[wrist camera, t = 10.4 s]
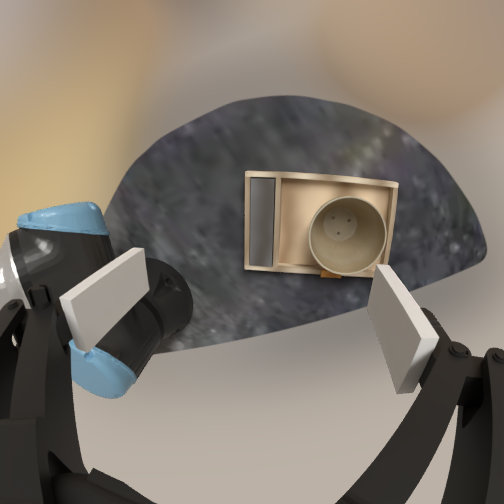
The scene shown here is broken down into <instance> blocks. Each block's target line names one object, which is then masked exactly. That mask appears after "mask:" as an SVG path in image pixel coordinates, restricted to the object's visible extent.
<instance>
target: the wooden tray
mask: <svg viewBox="0 0 504 504" xmlns="http://www.w3.org/2000/svg"><path fill="white" fill-rule="evenodd" d="M397 194H398V183H396V182H392V181H385V180H376V179H368V178H359V177H349V176H338V175H326V174H312V173H296V172H274V171H245V269H248V270H261V271H276V272H290V273H306V274H321V277H329V278H341V276H356V277H374V273H375V267H376V264H381V265H387V264H388V259H389V253H390V247H391V241H392V235H393V228H394V220H395V212H396V203H397ZM341 196H354V197H359V198H362V199H365V200H367V201H369V202H370V203H372V204H373V205H374V206H375V207H376V208H377V209H378V210H379V212H380V213H381V215H382V216H383V218H384V221H385V224H386V230H387V238H386V244H385V247H384V250H383V252H382V254H381V256H380V257H379V258H378V260H377V261H376V262H375V263H374V264H373V265H372V266H371V267H369V268H368V269H366V270H364V271H362V272H360V273H357V274H352V275H339V274H335V273H332V272H330V271H328V270H326V269H325V268H323V267H322V266H321V265H320V264H319V263H318V262H317V261H316V260H315V258H314V257H313V255H312V253H311V250H310V247H309V241H308V234H309V227H310V224H311V221H312V219H313V217H314V215H315V213H316V212H317V211H318V209H319V208H320V207H321V206H322V205H324V204H325V203H326V202H328V201H330V200H332V199H334V198H337V197H341ZM332 219H333V218H332ZM348 220H349V219H348ZM339 234H340V232H339Z"/></svg>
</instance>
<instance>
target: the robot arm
mask: <svg viewBox="0 0 504 504" xmlns="http://www.w3.org/2000/svg"><path fill="white" fill-rule="evenodd" d="M17 227H19V229H17V230H15V231H13V232H10V233H8V234H7V236H6V238H5V240H4V243H3V245H2V248H1V249H0V504H156V503H154V502H152V501H150V500H149V499H147V498H146V497H144V496H143V495H141V494H140V493H138V492H137V491H135V490H134V489H132V488H131V487H129V486H128V485H127V484H125V483H124V482H122V481H120V480H117V479H115V478H113V477H111V476H109V475H107V474H104V473H103V472H101V471H98V470H96V469H95V468H93V469H92V470H91V472H90V474H88V472H87V470H86V469H85V467H84V464H83V461H82V457H81V452H80V447H79V441H78V435H77V428H76V421H75V413H74V403H73V392H72V380H73V381H74V382H76V383H77V384H78V385H79V386H81V387H82V388H84V389H85V390H87V391H89V392H91V393H93V394H95V395H98V396H100V397H104V398H109V399H114V398H119V397H121V396H123V395H124V394H125V393H126V392H127V390H128V389H129V388H130V387H131V385H132V384H134V383H135V382H136V380H137V378H138V377H139V375H140V374H141V372H142V370H143V369H144V367H145V366H146V364H147V363H148V361H149V360H150V358H151V356H152V355H153V354H154V352H155V350H156V349H157V347H158V346H159V345H160V343H161V342H162V341H163V340H165V339H167V338H168V337H169V336H170V335H173V334H175V333H177V332H179V331H180V330H181V329H182V328H183V327H184V326H185V324H186V323H187V321H188V320H189V318H190V316H191V313H192V309H193V301H192V295H191V292H190V289H189V287H188V285H187V283H186V282H185V280H184V279H183V277H182V276H181V275H180V274H179V273H178V272H177V271H176V270H175V269H174V268H172V267H171V266H170V265H168V264H166V263H164V262H162V261H160V260H157V259H153V258H145V254H144V248H132V249H130V250H129V251H127V252H126V253H124V254H122V255H121V256H119V257H118V258H116V259H115V256H114V252H113V249H112V246H111V242H110V239H109V235H110V233H109V231H107V228H106V225H105V222H104V219H103V215H102V212H101V210H100V208H99V207H98V206H97V205H96V204H95V203H93V202H78V203H71V204H65V205H59V206H54V207H50V208H46V209H41V210H37V211H35V212H31V213H26V214H23V215H21V216H19V217H18V222H17ZM367 311H368V313H369V316H370V318H371V321H372V323H373V326H374V329H375V331H376V334H377V337H378V339H379V342H380V345H381V348H382V350H383V354H384V356H385V359H386V362H387V365H388V368H389V371H390V374H391V377H392V380H393V384H394V387H395V390H396V393H397V394H403V393H412V392H414V390H415V388H416V386H417V384H418V382H419V383H420V386H421V388H422V389H421V391H420V393H419V394H418V396H417V398H416V400H415V401H414V403H413V405H412V406H411V408H410V410H409V411H408V413H407V415H406V416H405V418H404V419H403V421H402V422H401V424H400V425H399V427H398V429H397V430H396V431H395V433H394V434H393V436H392V437H391V438H390V440H389V441H388V443H387V444H386V446H385V447H384V448H383V449H382V451H381V452H380V453H379V455H378V456H377V457H376V459H375V460H374V461H373V462H372V464H371V465H370V466H369V467H368V468H367V470H366V471H365V472H364V473H363V474H362V476H361V477H360V478H359V479H358V480H357V481H356V482H355V483H354V485H353V486H352V487H351V488H350V489H349V490H348V491H347V492H346V493H345V494H344V495H343V496H342V497H341V498H340V499H339V500H338V501H337V502H336V503H335V504H405V503H406V501H407V500H408V498H409V497H410V495H411V494H412V492H413V491H414V489H415V488H416V486H417V484H418V483H419V481H420V479H421V478H422V476H423V475H424V473H425V471H426V469H427V467H428V466H429V464H430V462H431V460H432V458H433V456H434V454H435V452H436V450H437V448H438V446H439V444H440V442H441V440H442V438H443V436H444V434H445V431H446V429H447V427H448V424H449V422H450V420H451V417H452V415H453V412H454V410H455V407H456V405H458V417H457V427H456V435H455V442H454V449H453V455H452V460H451V466H450V470H449V475H448V479H447V483H446V488H445V491H444V495H443V498H442V502H441V504H504V351H503V350H502V349H499V348H490V349H489V350H488V351H487V352H486V354H485V356H484V358H482V357H475V356H471V352H470V350H469V349H468V348H467V347H466V346H465V345H463V344H461V343H458V342H454V341H451V340H450V338H449V337H448V335H447V334H446V332H445V331H444V329H443V328H442V327H441V325H440V323H439V322H438V321H437V319H436V318H435V316H434V315H433V313H431V312H430V311H429V310H427V309H426V308H420V307H419V306H418V304H417V303H416V302H415V300H414V299H413V297H412V296H411V294H410V293H409V292H408V290H407V289H406V287H405V286H404V285H403V283H402V282H401V281H400V279H399V278H398V277H397V275H396V274H395V273H394V271H393V270H392V269H391V267H390V266H389V265H381V264H376V267H375V273H374V278H373V283H372V288H371V292H370V297H369V301H368V306H367ZM12 335H13V336H14V338H15V340H16V343H17V344H16V346H14V345H13V342H12Z"/></svg>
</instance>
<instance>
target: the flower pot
mask: <svg viewBox="0 0 504 504" xmlns="http://www.w3.org/2000/svg"><path fill="white" fill-rule="evenodd" d="M332 218H333V219H332ZM348 219H349V220H348ZM339 232H340V234H339ZM386 238H387V230H386V224H385V221H384V218H383V216H382V215H381V213H380V212H379V210H378V209H377V208H376V207H375V206H374V205H373V204H372V203H370V202H369V201H367V200H365V199H362V198H359V197H354V196H341V197H337V198H334V199H332V200H330V201H328V202H326V203H325V204H324V205H322V206H321V207H320V208H319V209H318V211H317V212H316V213H315V215H314V217H313V219H312V221H311V224H310V227H309V234H308V241H309V247H310V250H311V253H312V255H313V257H314V258H315V260H316V261H317V262H318V263H319V264H320V265H321V266H322V267H323V268H325V269H326V270H328V271H330V272H332V273H335V274H339V275H352V274H357V273H360V272H362V271H364V270H366V269H368V268H369V267H371V266H372V265H373V264H374V263H375V262H376V261H377V260H378V258H379V257H380V256H381V254H382V252H383V250H384V247H385V244H386Z"/></svg>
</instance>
